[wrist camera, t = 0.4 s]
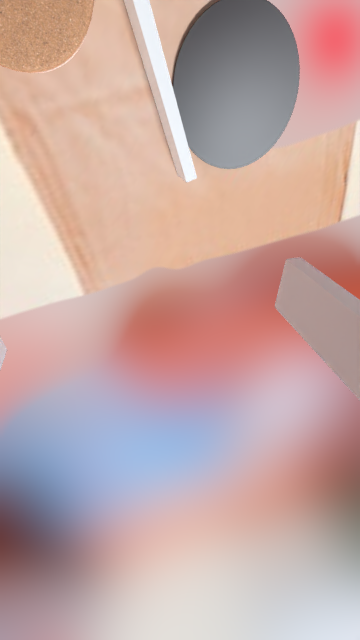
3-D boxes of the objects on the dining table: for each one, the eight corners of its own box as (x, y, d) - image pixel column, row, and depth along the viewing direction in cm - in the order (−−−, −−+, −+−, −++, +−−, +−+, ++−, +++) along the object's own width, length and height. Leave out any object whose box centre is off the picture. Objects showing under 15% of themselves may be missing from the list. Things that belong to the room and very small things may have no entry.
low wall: (74, -160, 19) (70, -213, 16) (90, -168, 19) (89, -222, 16) (177, 175, 33) (186, 182, 30) (187, 171, 33) (196, 177, 30)
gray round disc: (151, 31, 25) (152, 30, 25) (294, -33, 25) (296, -34, 25) (194, 187, 34) (195, 187, 34) (300, 140, 34) (302, 141, 34)
